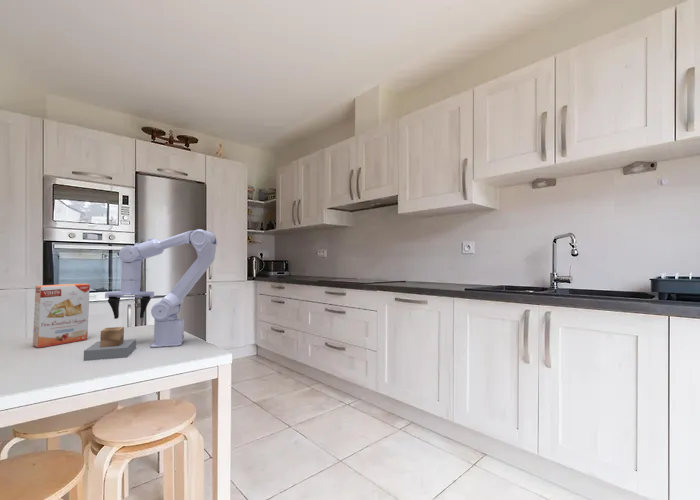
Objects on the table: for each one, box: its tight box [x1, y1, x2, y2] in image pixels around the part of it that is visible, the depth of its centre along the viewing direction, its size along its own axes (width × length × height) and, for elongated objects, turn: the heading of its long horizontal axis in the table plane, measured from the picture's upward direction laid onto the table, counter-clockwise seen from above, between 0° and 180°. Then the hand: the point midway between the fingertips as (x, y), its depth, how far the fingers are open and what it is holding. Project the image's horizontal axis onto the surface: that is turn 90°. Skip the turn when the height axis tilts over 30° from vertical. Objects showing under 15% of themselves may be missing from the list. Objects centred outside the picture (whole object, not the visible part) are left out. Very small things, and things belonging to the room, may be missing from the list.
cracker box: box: [32, 283, 91, 349], centre depth 117 cm, size 14×6×21 cm, turn 148°
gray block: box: [83, 338, 137, 362], centre depth 105 cm, size 11×11×4 cm
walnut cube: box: [99, 326, 125, 347], centre depth 105 cm, size 5×5×5 cm
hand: (129, 317), depth 116 cm, fingers open, 7 cm apart
